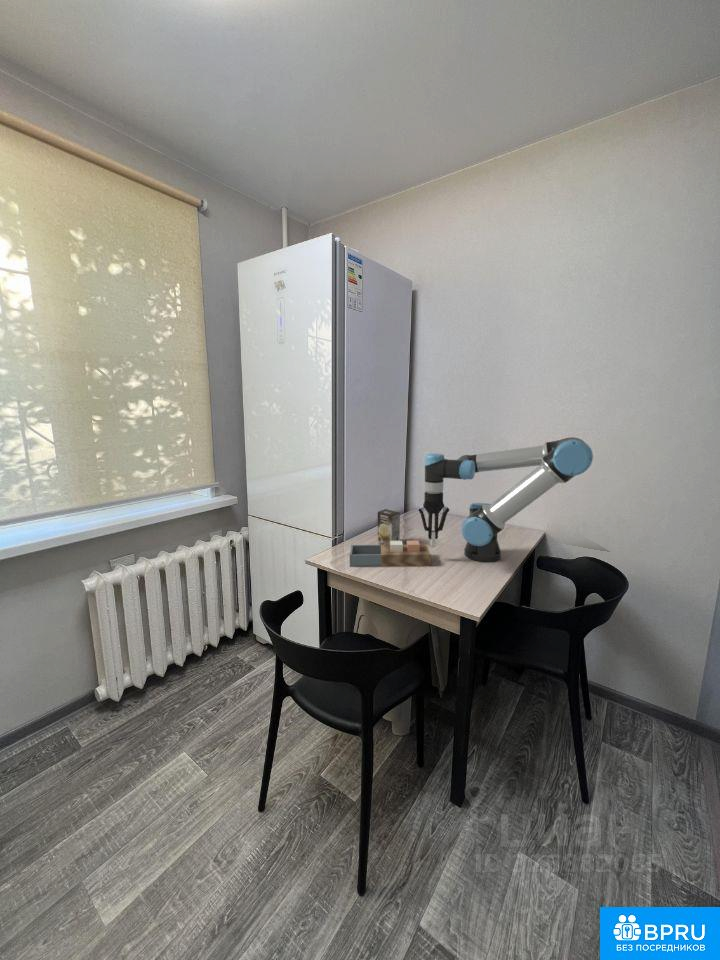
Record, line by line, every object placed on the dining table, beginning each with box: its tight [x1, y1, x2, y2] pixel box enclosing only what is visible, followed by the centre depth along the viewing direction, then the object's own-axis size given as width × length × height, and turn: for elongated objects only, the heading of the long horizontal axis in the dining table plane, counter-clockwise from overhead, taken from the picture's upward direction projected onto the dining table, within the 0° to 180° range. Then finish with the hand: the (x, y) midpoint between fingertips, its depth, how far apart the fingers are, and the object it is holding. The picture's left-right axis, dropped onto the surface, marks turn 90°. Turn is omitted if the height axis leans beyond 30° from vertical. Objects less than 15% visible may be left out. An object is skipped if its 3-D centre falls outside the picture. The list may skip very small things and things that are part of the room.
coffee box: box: [377, 508, 401, 545], centre depth 182 cm, size 9×6×16 cm
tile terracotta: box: [406, 540, 421, 552], centre depth 162 cm, size 5×5×3 cm
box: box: [349, 544, 381, 568], centre depth 164 cm, size 13×12×5 cm
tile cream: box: [390, 540, 403, 552], centre depth 162 cm, size 5×5×3 cm
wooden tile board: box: [381, 543, 432, 567], centre depth 163 cm, size 20×12×5 cm, turn 88°
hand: (432, 546), depth 162 cm, fingers closed
